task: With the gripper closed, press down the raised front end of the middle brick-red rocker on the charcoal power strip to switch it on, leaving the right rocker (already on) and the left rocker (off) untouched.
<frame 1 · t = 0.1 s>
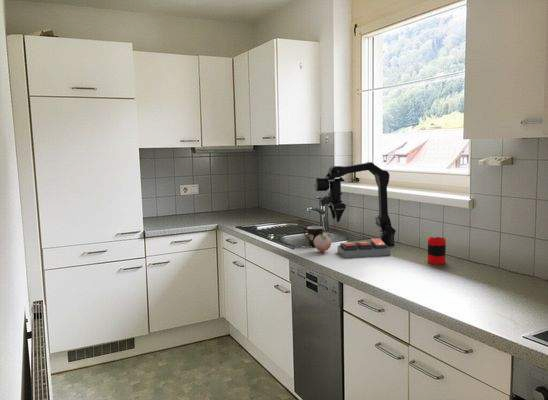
hand: (335, 220, 243), 15 cm above the worktop, tool pointing down, fingers open, 9 cm apart
middle rocker: (363, 243, 230), point 5 cm above the worktop, hinge at 10.0°
coffee mug: (314, 245, 252), on the worktop
soda can: (436, 263, 211), on the worktop
rocker 2: (378, 242, 231), point 5 cm above the worktop, hinge at -10.0°
power strip: (363, 253, 231), on the worktop
decorative fruit: (323, 252, 236), on the worktop
rocker 1: (348, 244, 229), point 5 cm above the worktop, hinge at 10.0°
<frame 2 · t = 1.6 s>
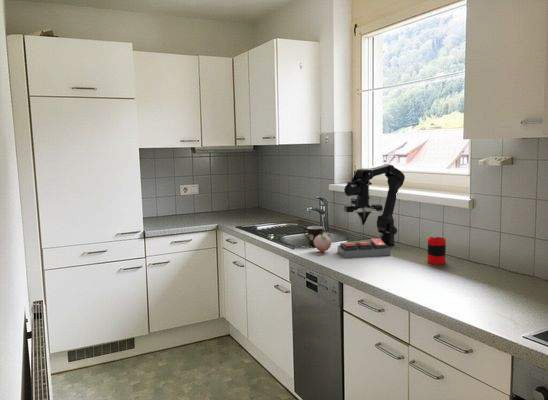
hand: (363, 224, 237), 13 cm above the worktop, tool pointing down, fingers closed
nothing on the worktop moved.
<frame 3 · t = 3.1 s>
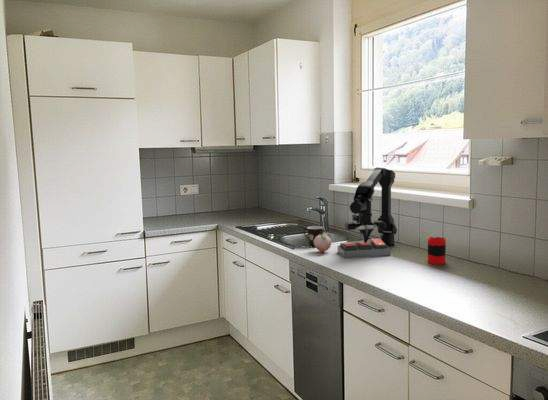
hand: (365, 242, 227), 6 cm above the worktop, tool pointing down, fingers closed, pressing on middle rocker
middle rocker: (363, 243, 230), point 5 cm above the worktop, hinge at 9.9°, touching gripper
everything else where it was.
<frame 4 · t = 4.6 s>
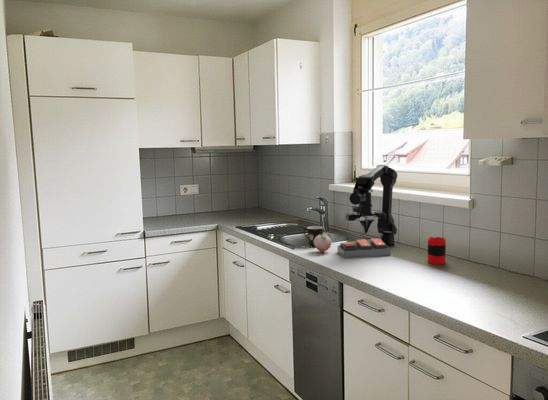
hand: (365, 233, 229), 10 cm above the worktop, tool pointing down, fingers closed
middle rocker: (363, 243, 230), point 5 cm above the worktop, hinge at -10.2°
everything else where it was.
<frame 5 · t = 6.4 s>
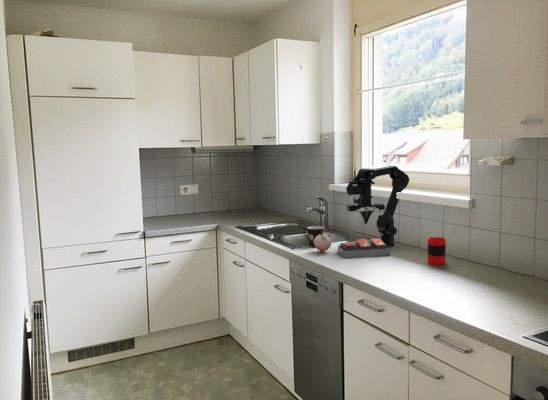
hand: (365, 223, 239), 13 cm above the worktop, tool pointing down, fingers closed
middle rocker: (363, 243, 230), point 5 cm above the worktop, hinge at -15.9°, touching power strip
everything else where it was.
at the end: middle rocker at -16° (first picture: +10°); rocker 2 at -10° (first picture: -10°); rocker 1 at +10° (first picture: +10°) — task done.
